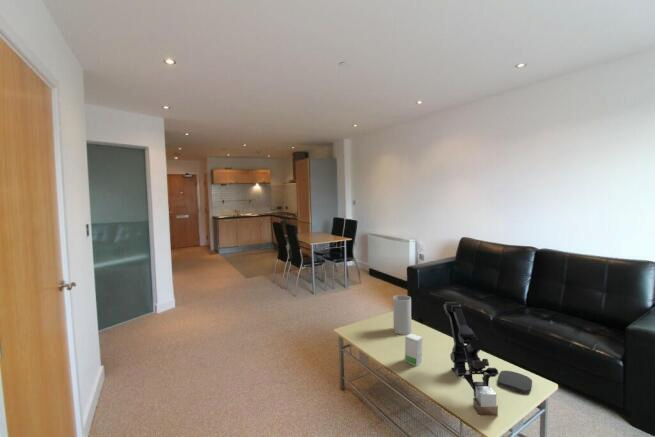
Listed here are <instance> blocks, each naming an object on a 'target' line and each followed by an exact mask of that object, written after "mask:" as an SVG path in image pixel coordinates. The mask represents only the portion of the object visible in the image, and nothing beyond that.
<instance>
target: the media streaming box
mask: <svg viewBox="0 0 655 437" xmlns="http://www.w3.org/2000/svg"><path fill="white" fill-rule="evenodd" d="M497 376H498V377H497V384H498V386H499V387H502V388H504V389H507V390H510V391H513V392H516V393H520V394H524V395H525V394H527V395H528V394H530V393H531V391H532V387H533V380H532V379H531V378H530V377H529V376H527V375H525V374H521V373H519V372H515V371H511V370H502V371H500V372H499V374H498V375H497Z"/></svg>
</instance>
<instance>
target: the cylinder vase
mask: <svg viewBox="0 0 655 437" xmlns="http://www.w3.org/2000/svg"><path fill="white" fill-rule="evenodd" d="M392 298H393V299H392V300H393V301H392V307H393V310H392V311H393V315H392V316H393V332H394V333H395V334H397V335H401V336H403V335H405V336H407V335H408V334H410V333H411V334H412V297H411V296H409V295H405V294H397V295H393V297H392Z"/></svg>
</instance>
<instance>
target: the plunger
mask: <svg viewBox="0 0 655 437" xmlns="http://www.w3.org/2000/svg"><path fill="white" fill-rule="evenodd" d="M473 382H474V385H475V388H476V386H487V384H486V383H485V382H483V381H473ZM473 398H476V392H474V391H473Z"/></svg>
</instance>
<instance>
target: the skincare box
mask: <svg viewBox="0 0 655 437" xmlns="http://www.w3.org/2000/svg"><path fill="white" fill-rule="evenodd" d="M404 339H405V341H404V342H405V343H404V362H405V363H409V364H410V365H413V366H416V367H418V366H419V365H420V364H422V362H423V336H419V335H418V334H414V333H412V332H411V333H410V334H407V335H405V338H404Z"/></svg>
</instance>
